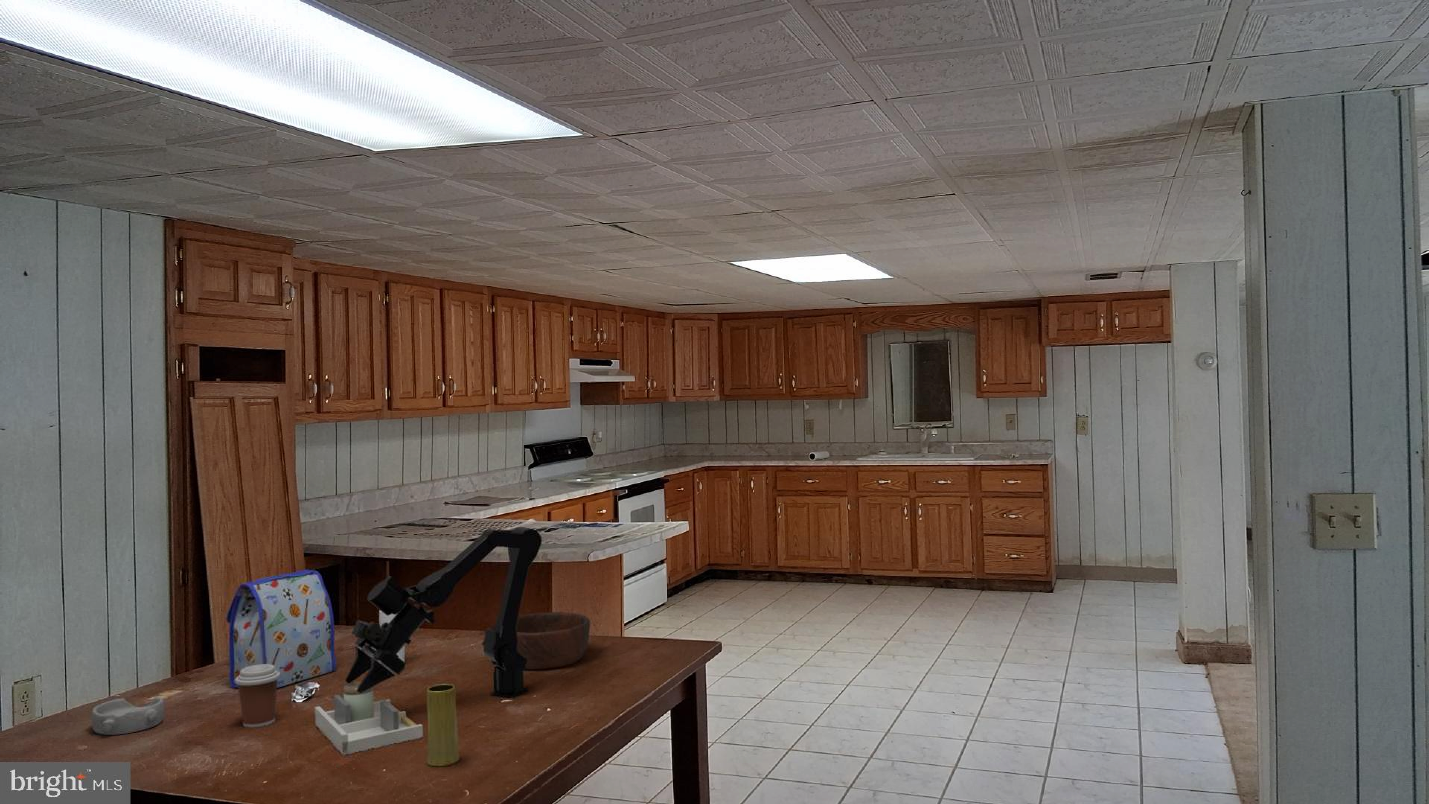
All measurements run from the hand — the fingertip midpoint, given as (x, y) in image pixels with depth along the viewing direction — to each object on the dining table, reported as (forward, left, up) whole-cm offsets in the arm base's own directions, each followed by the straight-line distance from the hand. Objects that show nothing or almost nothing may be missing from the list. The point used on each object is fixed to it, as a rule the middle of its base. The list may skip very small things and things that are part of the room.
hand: (352, 686), depth 210 cm
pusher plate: (+1, +2, -8) cm, 8 cm away
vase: (-33, +8, -9) cm, 35 cm away
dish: (+48, +19, -9) cm, 53 cm away
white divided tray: (-6, +1, -8) cm, 10 cm away
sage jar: (-1, -1, -8) cm, 8 cm away
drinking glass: (+28, -40, -9) cm, 49 cm away
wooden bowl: (-7, -59, -9) cm, 60 cm away
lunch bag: (+46, -20, -9) cm, 51 cm away
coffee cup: (+22, +6, -9) cm, 25 cm away
